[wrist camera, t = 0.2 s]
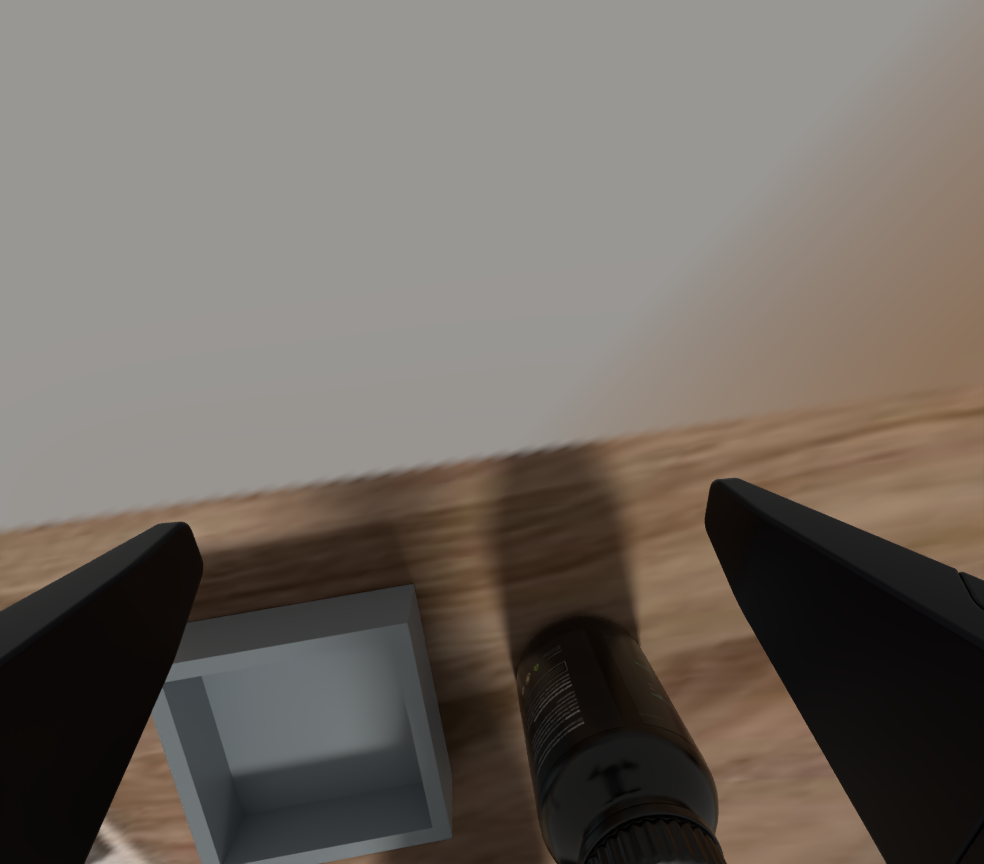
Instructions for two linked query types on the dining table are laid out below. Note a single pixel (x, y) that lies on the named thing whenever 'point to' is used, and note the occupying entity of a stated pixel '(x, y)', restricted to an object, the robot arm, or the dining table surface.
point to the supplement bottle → (611, 753)
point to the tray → (307, 732)
